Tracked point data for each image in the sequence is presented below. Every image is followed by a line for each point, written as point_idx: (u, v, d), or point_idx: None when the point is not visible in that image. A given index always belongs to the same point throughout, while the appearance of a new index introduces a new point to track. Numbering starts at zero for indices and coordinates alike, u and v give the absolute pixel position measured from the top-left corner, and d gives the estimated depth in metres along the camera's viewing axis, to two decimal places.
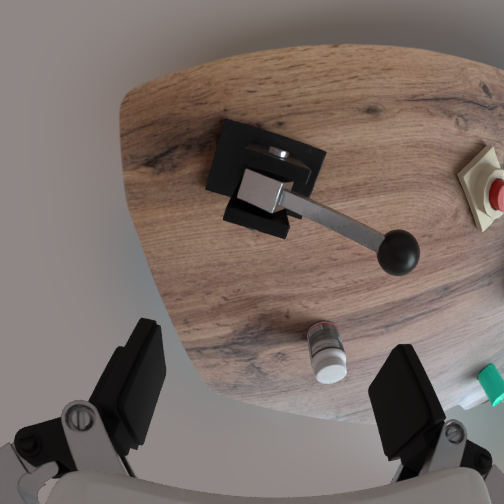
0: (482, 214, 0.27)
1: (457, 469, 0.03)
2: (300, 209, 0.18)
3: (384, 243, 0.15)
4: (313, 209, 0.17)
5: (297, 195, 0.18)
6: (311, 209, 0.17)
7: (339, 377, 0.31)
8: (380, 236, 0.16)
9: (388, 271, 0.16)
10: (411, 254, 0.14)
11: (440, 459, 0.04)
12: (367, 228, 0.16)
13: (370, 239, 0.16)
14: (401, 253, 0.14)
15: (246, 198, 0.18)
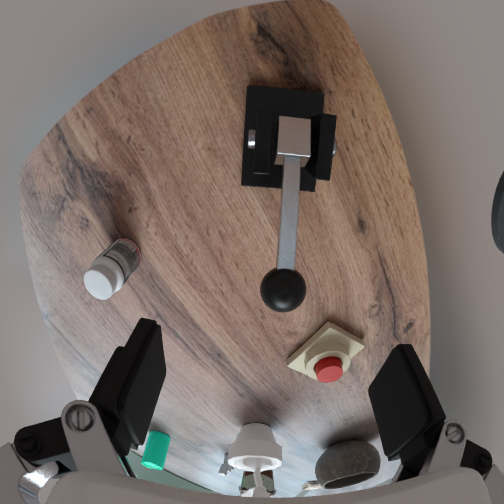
0: (302, 359, 0.39)
1: (457, 469, 0.03)
2: (288, 179, 0.17)
3: (290, 271, 0.17)
4: (293, 192, 0.17)
5: (299, 173, 0.17)
6: (293, 190, 0.17)
7: (98, 294, 0.27)
8: (293, 265, 0.17)
9: (266, 287, 0.17)
10: (293, 302, 0.16)
11: (440, 459, 0.04)
12: None
13: (287, 257, 0.17)
14: (291, 292, 0.16)
15: (282, 125, 0.16)
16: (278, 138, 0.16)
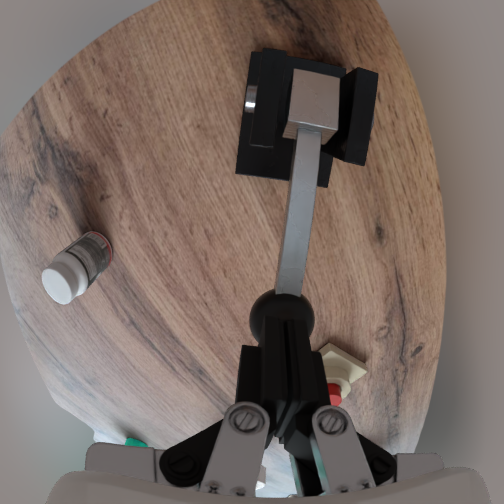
0: None
1: (457, 469, 0.03)
2: (302, 161, 0.11)
3: (295, 300, 0.11)
4: (308, 181, 0.11)
5: None
6: (308, 178, 0.11)
7: (57, 298, 0.21)
8: (300, 290, 0.12)
9: (257, 320, 0.11)
10: None
11: (335, 460, 0.05)
12: None
13: (291, 277, 0.12)
14: None
15: (297, 81, 0.10)
16: (291, 99, 0.10)
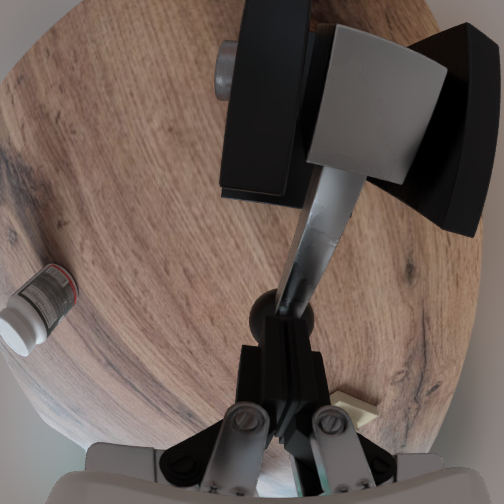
0: None
1: (457, 469, 0.03)
2: (324, 207, 0.07)
3: None
4: (329, 232, 0.07)
5: None
6: (330, 229, 0.07)
7: (15, 348, 0.14)
8: (300, 314, 0.11)
9: (255, 333, 0.12)
10: None
11: (335, 460, 0.05)
12: None
13: (292, 307, 0.10)
14: None
15: (342, 65, 0.03)
16: (319, 115, 0.04)
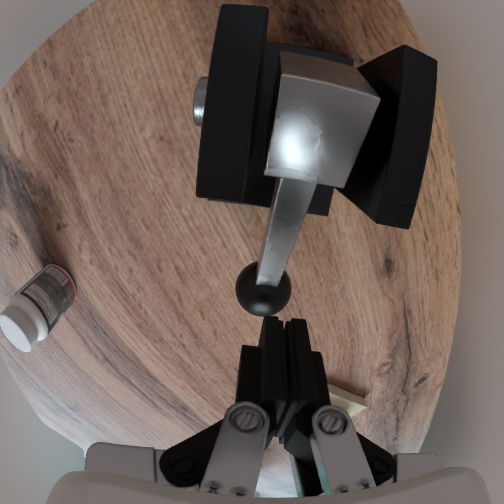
0: None
1: (457, 469, 0.03)
2: (286, 201, 0.08)
3: (271, 292, 0.13)
4: (292, 220, 0.09)
5: None
6: (292, 217, 0.09)
7: (17, 345, 0.15)
8: (277, 284, 0.13)
9: (240, 300, 0.14)
10: (270, 314, 0.14)
11: (335, 460, 0.05)
12: None
13: (269, 278, 0.13)
14: (268, 313, 0.14)
15: (286, 106, 0.05)
16: (271, 143, 0.06)
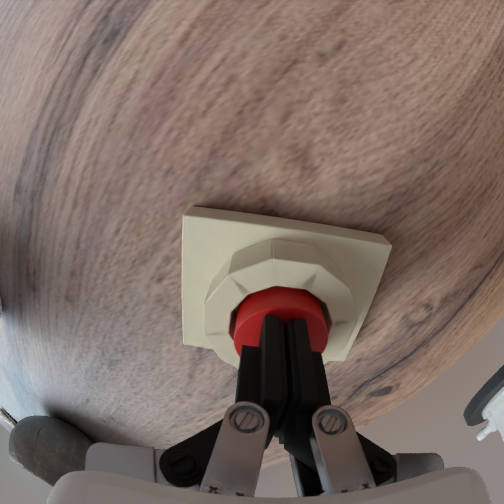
0: (241, 243, 0.12)
1: (457, 469, 0.03)
2: None
3: None
4: None
5: None
6: None
7: None
8: None
9: None
10: None
11: (334, 460, 0.05)
12: None
13: None
14: None
15: None
16: None
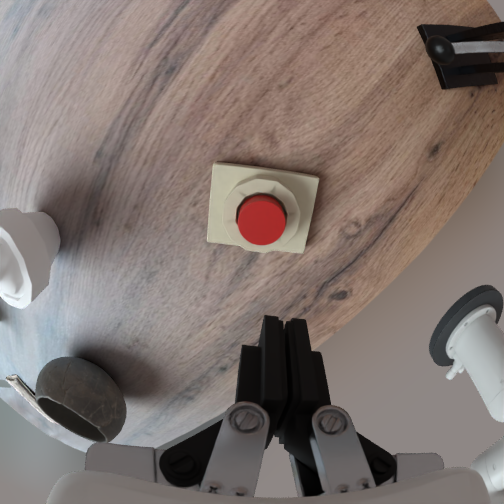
0: (241, 177, 0.25)
1: (457, 469, 0.03)
2: (500, 44, 0.09)
3: (454, 50, 0.13)
4: (496, 48, 0.10)
5: None
6: (496, 47, 0.10)
7: None
8: (458, 53, 0.13)
9: (438, 37, 0.13)
10: (439, 55, 0.14)
11: (335, 460, 0.05)
12: (466, 53, 0.12)
13: (460, 48, 0.12)
14: (444, 52, 0.13)
15: None
16: None
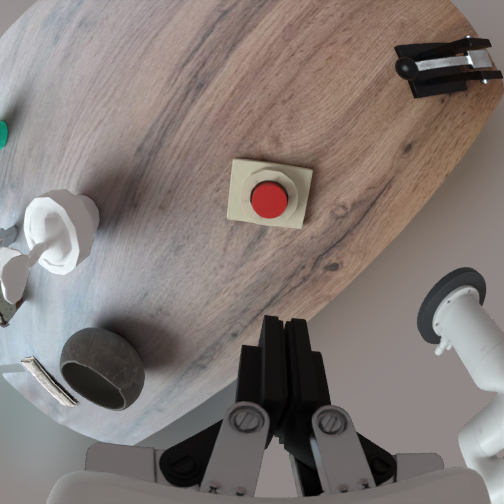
0: (254, 169, 0.33)
1: (457, 469, 0.03)
2: (458, 59, 0.17)
3: (417, 68, 0.21)
4: (453, 62, 0.17)
5: (464, 64, 0.17)
6: (454, 62, 0.17)
7: None
8: (420, 69, 0.21)
9: (404, 58, 0.21)
10: (404, 73, 0.21)
11: (334, 460, 0.05)
12: (428, 69, 0.20)
13: (423, 65, 0.20)
14: (408, 70, 0.21)
15: (481, 51, 0.14)
16: (474, 50, 0.14)
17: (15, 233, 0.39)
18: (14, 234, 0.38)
